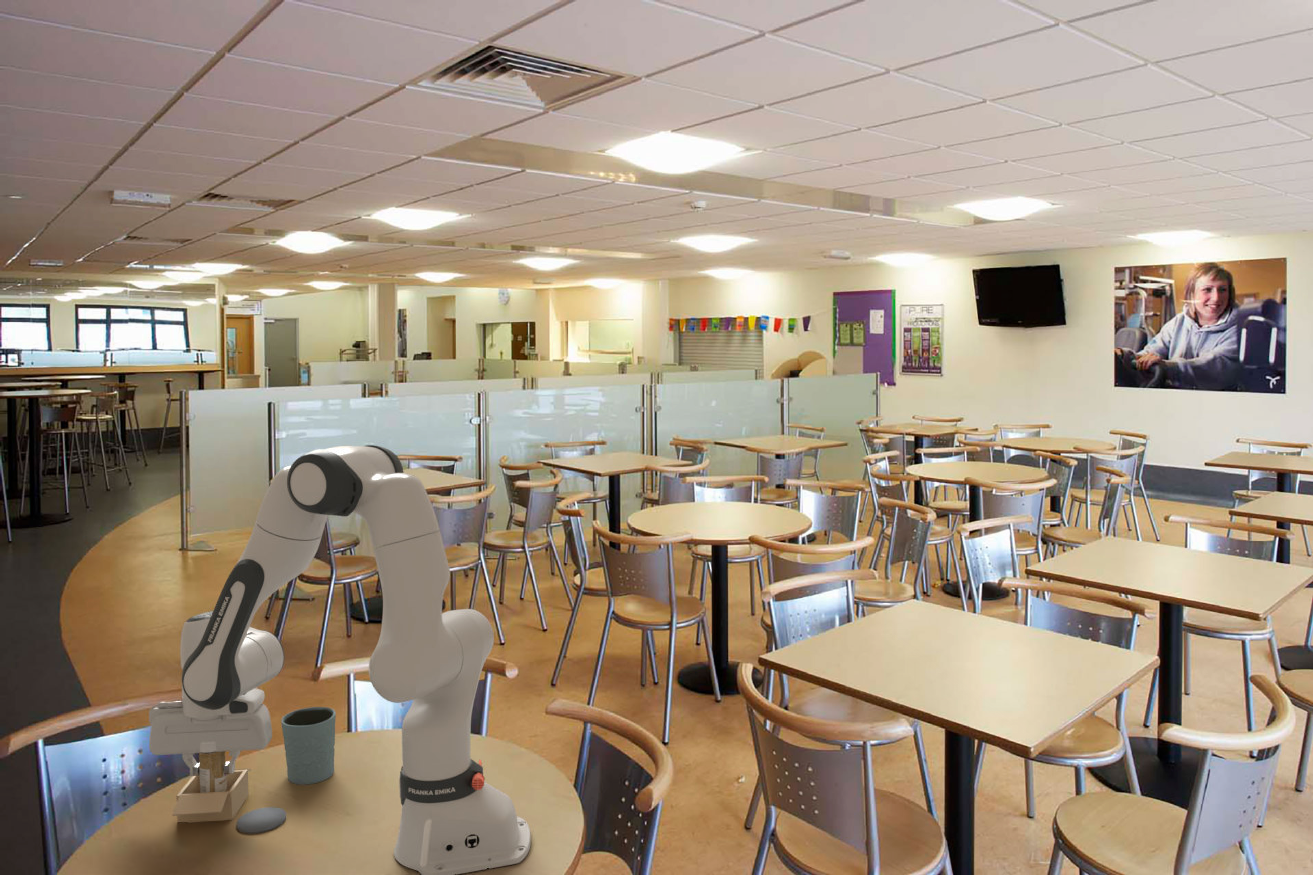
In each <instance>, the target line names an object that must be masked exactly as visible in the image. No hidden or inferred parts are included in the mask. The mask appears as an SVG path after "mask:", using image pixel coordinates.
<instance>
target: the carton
mask: <svg viewBox="0 0 1313 875" xmlns="http://www.w3.org/2000/svg"><path fill="white" fill-rule="evenodd" d="M251 770H252V769H251V768H238V769H237V768H235V771H234V773H233V774H226V781H227V789H226V790H227V791H225V792H208V793H200V775H199V776H191V777H190V779H189V780H188V781H187V782H186V784H185V785H184V786H183V787H182V789H181V790H179V792H178V793H177V795H176V796H175V797H176V803H175V806H174V809H173V812H172V814H171V816H173V817H174V816H176V817H177V818H176V820H177V822H188V823H202V822H217V821H232V820H233V819H234V818H235V816H236V815H237V813H238V812H239V810H240V809H241V807H242V806H243V804H245V801H246V800H247V798H248V797H249V796H250V794H249V793H250V792H249V789H250V788H249V771H251Z"/></svg>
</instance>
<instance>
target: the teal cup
mask: <svg viewBox="0 0 1313 875" xmlns="http://www.w3.org/2000/svg"><path fill="white" fill-rule="evenodd" d="M336 715H337V714H336V711H335V709H334V708H330V707H326V706H313V707H311V706H310V707H304V708H300V709H296V710H293V711H290V712H288V713H286V714H285V715H283V716H282V718H281V720H280V723H281V731H282V738H283V745H284V751H285V753H284V754H285V759H286V760H285V763H286V773H287V774H286V775H287V780H288V781H289V782H290V783H292V784H294V785H307V786H308V785H313V784H317V783H321V782H323V781H326V780H327V779H329V778H330V777H332V776H333V774H334V771H335V743H336V742H335V740H336V720H337V718H336V717H337V716H336Z"/></svg>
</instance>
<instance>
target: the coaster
mask: <svg viewBox="0 0 1313 875" xmlns="http://www.w3.org/2000/svg"><path fill="white" fill-rule="evenodd" d="M286 820H287V813H286V811H285V810H284V809H283V808H281V807H274V806H271V807H270V806H267V807H260V808H257V809H253V810H251V811H249V812H246V813H243V815H241V816H240V817H239V818H238V819H237V821H236V828H237V830H238V831H239V832H240V833H244V834H259V833H260V834H261V833H265V832H269V831H272V830H274V829H277V828H278V827H280V826H281V825H283V824H284V822H286Z"/></svg>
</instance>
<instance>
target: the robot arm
mask: <svg viewBox="0 0 1313 875" xmlns="http://www.w3.org/2000/svg"><path fill="white" fill-rule="evenodd" d="M352 513H354V514H357V515H358V516H360V517H361V518H362V519H363V520H364V522H365V523H366V526H367V528H368V531H369V532H368V533H369V537H370V542H371V546H372V550H373V551H372V552H373V554H374V558H375V562H376V567H377V570H378V571H377V572H378V576H379V582H380V587H381V591H382V619H381V629H380V635H379V637H378V641H377V644H376V646H375V649H374V650H373V652H372V654H371V656H370V658H369V661H368V676H369V679H370V683H371V685H372V687H373V689H374V690H375V691H376V693H377V694H378V696H380V697H381V698H383V699H384V700H386V701H388V702H391V703H395V704H399V703H405V702H406V703H407V702H411V701H412V704H411V706H410V707H409V709H408V711H407V713H406V714H405V716H404V717H403V721H402V725H401V747H402V748H401V753H402V755H401V756H402V759H401V760H402V766H401V768H400V771H399V773H400V774H399V776H398V777H399V780H398V781H399V787H398V788H399V798H400V804H401V814H400V824H399V831H398V834H397V838H396V843H395V846H394V850H393V855H394V858H395V860H396V861H397V863H399V864H400V865H402V866H404V867H406V868H409V869H412V870H415V871H417V872H419V873H420V875H455V874H456V875H460V874H467V873H471V872H477V871H483V870H488V869H487V868H489V869H493V868H499V867H505V866H510V865H515V864H519V863H521V862H522V861H523V860H524V859H525V858H526V857H527V855H528V854H529V851H530V849H531V844H532V842H531V841H532V836H531V835H532V834H531V830H530V826H529V823H528V822H527V821H526V820H525V819H524V818H522V817H520V816H517V812H516V809H515V806H514V802H513V801H512V799H511V797H510V796H509V795H508V794H506V793H504V792H502V791H501V790H499V789H497V788H496V787H494V786H492V785H490V784H489V783H487V782H486V781H485V776H484V767H483V765H482V764H483V763H482V760H481V759H479V760H478V762H476V761H474V760H473V759H472V758H471V732H472V731H471V726H472V724H471V723H472V714H473V708H474V702H475V698H476V694H477V689H478V685H479V682H480V677H481V674H482V670H483V667H484V665H485V662H486V660H487V658H488V657H489V655H490V653H491V651H492V649H493V647H494V643H495V636H494V634H495V633H494V629H493V627H492V624H491V622H490V621H489V620H488V618H487V617H486V616H485V615H484V614H483V613H481V612H480V611H478V610H476V609H473V608H462V609H453V610H447V611H445V612H443V600H444V595H445V591H446V588H447V587H448V584H449V582H450V579H451V569H450V566H449V562H448V558H447V554H446V549H445V546H444V542H443V538H442V534H441V530H440V526H439V525H440V524H439V522H438V519H437V515H436V512H435V510H434V507H433V504H432V501H431V500H430V496H429V494H428V492H427V490H426V488H425V486H424V483H423V482H422V481H421V480H420V478H419V477H417V476H415V475H413V474H410V473H405V472H404V467H403V465H402V462H401V460H400V459H399V457H398V456H397V455H396V454H395V453H394V452H393V451H392V450H390V449H388V448H386V447H382V446H379V445H373V444H367V445H338V446H337V445H336V446H332V447H327V448H318V449H314V450H310V451H308V452H306V453H304V454H302V455H300V456H299V457H298V458H297V459H295V461H294V462H293V463H292V464H291V465H287V466H285V467H282V468H281V469H279V470H278V472H276V474H275V476H274V477H273V479H272V480H271V483H270V485H269V486H268V488H267V491H266V492H265V495H264V497H263V498H262V501H261V504H260V507H259V510H258V512H257V515H256V520H255V523H254V526H253V529H252V532H251V534H250V536H249V539H248V541H247V543H246V545H245V548H244V549H243V552H242V554H241V556H240V557H239V559H238V561H237V563H236V564H234V567H233V568H232V570H231V572H230V574H229V575H228V577H227V579H226V581H225V583H224V585H223V587H222V589H221V591H220V594H219V596H218V599H217V601H216V603H215V606H214V608H213V610H209V611H207V612H202V613H198V614H196V615H194V616H192V617H189V618H188V619H186V621H185V622H184V623H183V626H182V628H181V634H180V646H179V647H180V649H179V651H180V666H181V670H182V673H181V699H182V700H179V701H178V700H176V701H175V700H174V701H167V702H166V701H159V702H158V703H157V704H154V705H153V706H151V708H150V709H149V710H148V721H149V724H150V725H151V726H150V731H149V732H150V733H149V741H148V742H149V746H148V749H149V751H150V753H152V755H154V756H165V755H181V756H182V760H183V761H184V763H185V765H186V766H187V767H188V768H189V776H190V777H193V776H199V775H200V774H199V766H200V764H199V762H198V761H197V760H196V759H195V757H194V755H195V754H199V753H201V752H200V743H202V742H215V743H216V749H217V751H216V752H224V751H225V752H228V754H229V757H231V759H230V760H227V761H225V764H224V765H223V769H224V774H233V773H234V771H235V769H236V761H237V759H238V757H239V756H240V754H241V752H242V751H257V750H259V751H261V750H264V749H265V748H266V747H267V746H268V745H269V744H270V742H271V741H272V738H273V728H272V721H271V720H272V719H271V715H270V711H269V709H268V707H267V706H266V705H265V704H263V703H264V700H265V698H266V696H265V695H266V694H265V691H264V690H262V689H259V688H258V687H259V686H261V685H263V684H266V683H267V682H269V681H270V680H272V679H273V678H275V677H277V676H278V675H279V674H280V673H281V671H282V669H283V667H284V663H285V651H284V646H283V644H282V642H281V640H280V639H279V638H278V637H277V636H276V635H275V634H274V633H272V632H270V631H268V630H265V629H258V628H254V627H251V624H252V622H253V619H254V617H255V614H256V613H257V612H258V610H259V608H260V607H261V606H262V604H264V602H265V601H266V600H268V598H270V597H271V596H272V595H273V594H274V593H275V592H276V591H278V590H279V589H281V588H282V587H283V586H285V585H286V584H288V583H289V582H291V581H292V580H293V579H295V578H297V577H298V576H300V575H301V574H302V573H304V572H305V571H307V569H308V568H309V566H310V565H311V563H312V562H313V560H314V558H315V556H316V553H317V552H318V550H319V547H320V544H321V540H322V538H323V534H324V531H325V526H326V524H327V520H328V517H329V516H335V517H336V516H337V517H343V518H344V517H348V516H350V515H352Z"/></svg>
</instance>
